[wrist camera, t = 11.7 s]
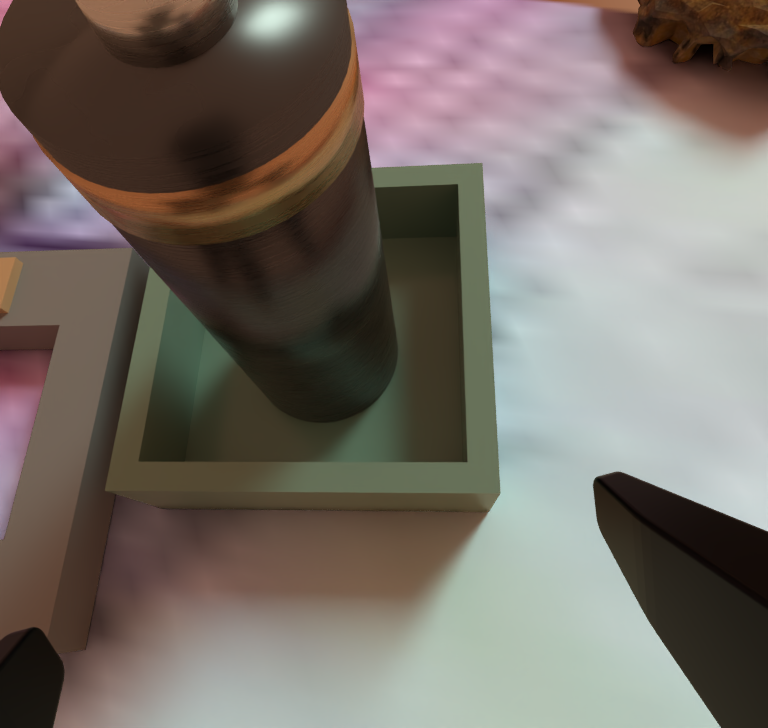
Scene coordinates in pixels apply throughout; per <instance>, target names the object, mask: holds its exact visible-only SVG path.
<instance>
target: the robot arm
mask: <svg viewBox="0 0 768 728" xmlns="http://www.w3.org/2000/svg"><path fill="white" fill-rule="evenodd" d="M593 490H594V499H595V508H596V517H597V522H598V526H599V529H600V531H601V533H602V535H603V537H604V539H605V541H606V543H607V545H608V547H609V549H610V550H611V552H612V554H613V556H614V558H615V560H616V562H617V564H618V565H619V567H620V569H621V571H622V573H623V575H624V577H625V579H626V580H627V582H628V584H629V586H630V588H631V590H632V592H633V594H634V595H635V597H636V599H637V601H638V603H639V605H640V607H641V608H642V610H643V612H644V614H645V615H646V617H647V619H648V621H649V622H650V624H651V625H652V627H653V628H654V630H655V631H656V633H657V634H658V636H659V637H660V639H661V640H662V642H663V643H664V645H665V646H666V648H667V649H668V651H669V652H670V654H671V655H672V656H673V658H674V659H675V661H676V662H677V664H678V665H679V667H680V668H681V670H682V671H683V673H684V674H685V676H686V677H687V679H688V680H689V681H690V683H691V684H692V686H693V687H694V689H695V690H696V692H697V693H698V695H699V696H700V698H701V699H702V701H703V702H704V703H705V705H706V706H707V708H708V709H709V711H710V712H711V714H712V715H713V717H714V718H715V720H716V721H717V723H718V724H719V725H720V727H721V728H768V531H765V530H763V529H760V528H758V527H755V526H753V525H751V524H748V523H746V522H743V521H741V520H738V519H736V518H733V517H731V516H728V515H726V514H723V513H721V512H719V511H716V510H714V509H711V508H709V507H706V506H704V505H701V504H699V503H696V502H694V501H692V500H689V499H687V498H684V497H682V496H679V495H677V494H674V493H672V492H669V491H667V490H665V489H662V488H660V487H657V486H655V485H652V484H650V483H647V482H645V481H642V480H640V479H638V478H635V477H633V476H630V475H628V474H625V473H622V472H613V473H609V474H605V475H602V476H598V477H596V478H595V480H594V483H593ZM63 681H64V666H63V662H62V660H61V659H60V657H59V655H58V654H57V652H56V651H55V649H54V648H53V646H52V644H51V643H50V641H49V640H48V638H47V637H46V635H45V633H44V632H43V631H42V630H41V629H39V628H38V627H30V628H26V629H23V630H19V631H15V632H12V633H10V634H8V635H6V636H5V637H3V638H2V639H1V640H0V728H53V726H54V721H55V717H56V712H57V708H58V703H59V699H60V694H61V690H62V685H63Z"/></svg>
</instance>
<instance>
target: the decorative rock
mask: <svg viewBox="0 0 768 728" xmlns="http://www.w3.org/2000/svg"><path fill="white" fill-rule="evenodd" d="M638 2H639V4H640V7H639V10H638V20H637V23H636V26H635V28H634V31H633V34H634V36H635V39H636V41H637V42H638V43H639V44H640V45H641V46H645V47H649V46H653V45H655V44H658V43H660V42H662V41H665V40H667V39H670V40H672V41H674V42H675V43H677V44H678V45H679V47H678V48H677V50H676V51H675V53H674V54H673V61H672V62H673V63H680V62H685V61H688V60H690V59H691V57H692V56H693V55H694V54H695V52H696V51H697V49H698V48H699V47H700V45H701V44H714V45H713V64H716V63H718V66H719V67H720V66H721V67H722V68H723V69H725V70H729V71H731V67H732V62H733V61H735V60H738V59H739V60H741V61H745V62H749V63H753V64H763V63H765V62H767V61H768V0H638Z"/></svg>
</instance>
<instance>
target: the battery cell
mask: <svg viewBox="0 0 768 728" xmlns="http://www.w3.org/2000/svg"><path fill="white" fill-rule="evenodd" d="M0 91H1V94H2V96H3V98H4V100H5V102H6V103H7V105H8V106H9V108H10V110H11V111H12V112H13V114H14V115H15V116H16V117H17V118H18V119H19V120H20V121H21V123H22V124H23V125H24V126H25V127H26V128H27V129H28V130H29V131H30V133H31V134H32V135H33V137H34V139H35V140H36V142H37V144H38V145H39V147H40V148H41V150H42V151H43V152H44V154H45V155H46V156H47V157H48V158H49V159H50V160H51V161H52V162H53V164H54V165H55V166H56V167H57V168H58V169H59V170H60V171H61V172H62V173H63V175H64V176H65V177H66V178H67V179H68V180H69V181H70V182H71V183H72V185H73V186H74V187H75V188H76V189H77V190H78V191H79V192H80V193H81V195H82V196H83V197H84V198H85V199H86V200H87V201H88V202H89V203H90V204H91V205H92V207H93V208H94V209H95V210H96V211H97V212H98V213H99V214H100V215H101V216H102V217H104V218H105V219H106V220H108V221H109V222H110V223H112V224H113V226H114V227H115V228H116V229H117V230H118V231H119V232H120V233H121V235H122V236H123V237H124V238H125V239H126V240H127V241H128V242H129V244H130V245H131V246H132V247H133V248H134V249H135V250H136V251H137V252H138V254H139V255H140V256H141V257H142V258H143V259H144V260H145V261H146V263H147V264H148V265H149V266H150V267H151V268H152V269H153V270H154V272H155V273H156V274H157V275H158V276H159V277H160V278H161V279H162V280H163V282H164V283H165V284H166V285H167V286H168V287H169V288H170V289H171V291H172V292H173V293H174V294H175V295H176V296H177V297H178V298H179V300H180V301H181V302H182V303H183V304H184V305H185V306H186V307H187V308H188V310H189V311H190V312H191V313H192V314H193V315H194V316H195V317H196V319H197V320H198V321H199V322H200V323H201V324H202V325H203V326H204V328H205V329H206V330H207V331H208V332H209V333H210V334H211V335H212V336H213V338H214V339H215V340H216V341H217V342H218V343H219V344H220V345H221V347H222V348H223V349H224V350H225V351H226V352H227V353H228V354H229V356H230V357H231V358H232V359H233V360H234V361H235V362H236V363H237V364H238V366H239V367H240V368H241V369H242V370H243V371H244V372H245V373H246V375H247V376H248V377H249V378H250V379H251V380H252V381H253V382H254V384H255V385H256V386H257V387H258V388H259V389H260V390H261V391H262V392H263V394H264V395H265V396H266V397H267V398H268V399H269V400H270V401H271V402H272V403H273V405H275V406H276V407H277V408H278V409H280V410H281V411H282V412H284V413H286V414H287V415H289V416H292V417H294V418H296V419H299V420H303V421H307V422H315V423H328V422H336V421H340V420H344V419H347V418H349V417H352V416H354V415H356V414H358V413H360V412H362V411H364V410H365V409H366V408H368V407H369V406H371V405H372V404H373V403H374V402H375V401H376V400H377V399H378V398H379V397H380V396H381V395H382V394H383V392H384V391H385V390H386V388H387V387H388V385H389V383H390V382H391V379H392V377H393V375H394V372H395V369H396V366H397V360H398V342H397V335H396V328H395V321H394V315H393V308H392V301H391V295H390V288H389V281H388V275H387V268H386V261H385V255H384V248H383V242H382V235H381V228H380V222H379V215H378V208H377V202H376V195H375V188H374V182H373V175H372V168H371V162H370V155H369V149H368V142H367V135H366V129H365V122H364V97H363V89H362V82H361V75H360V68H359V61H358V54H357V47H356V41H355V34H354V27H353V22H352V19H351V16H350V13H349V10H348V8H347V2H346V0H13V1H12V3H11V5H10V7H9V9H8V11H7V12H6V14H5V16H4V18H3V21H2V24H1V27H0Z"/></svg>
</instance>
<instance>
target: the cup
mask: <svg viewBox="0 0 768 728" xmlns="http://www.w3.org/2000/svg"><path fill="white" fill-rule="evenodd" d="M372 175H373V182H374V188H375V195H376V202H377V208H378V215H379V222H380V228H381V235H382V242H383V248H384V255H385V261H386V268H387V275H388V281H389V288H390V295H391V301H392V308H393V315H394V321H395V328H396V335H397V342H398V360H397V366H396V369H395V372H394V375H393V377H392V379H391V382H390V383H389V385H388V387H387V388H386V390H385V391H384V392H383V394H382V395H381V396H380V397H379V398H378V399H377V400H376V401H375V402H374V403H373V404H372V405H371V406H369V407H368V408H366V409H365V410H364V411H362V412H360V413H358V414H356V415H354V416H352V417H349V418H347V419H344V420H340V421H336V422H328V423H315V422H307V421H303V420H299V419H296V418H294V417H292V416H289V415H287V414H286V413H284V412H282V411H281V410H280V409H278V408H277V407H276V406H275V405H273V403H272V402H271V401H270V400H269V399H268V398H267V397H266V396H265V395H264V394H263V392H262V391H261V390H260V389H259V388H258V387H257V386H256V385H255V384H254V382H253V381H252V380H251V379H250V378H249V377H248V376H247V375H246V373H245V372H244V371H243V370H242V369H241V368H240V367H239V366H238V364H237V363H236V362H235V361H234V360H233V359H232V358H231V357H230V356H229V354H228V353H227V352H226V351H225V350H224V349H223V348H222V347H221V345H220V344H219V343H218V342H217V341H216V340H215V339H214V338H213V336H212V335H211V334H210V333H209V332H208V331H207V330H206V329H205V328H204V326H203V325H202V324H201V323H200V322H199V321H198V320H197V319H196V317H195V316H194V315H193V314H192V313H191V312H190V311H189V310H188V308H187V307H186V306H185V305H184V304H183V303H182V302H181V301H180V300H179V298H178V297H177V296H176V295H175V294H174V293H173V292H172V291H171V289H170V288H169V287H168V286H167V285H166V284H165V283H164V282H163V280H162V279H161V278H160V277H159V276H158V275H157V274H156V273H155V272H154V270H153V269H152V268H151V267H150V269H149V274H148V279H147V284H146V289H145V294H144V299H143V304H142V309H141V314H140V319H139V324H138V329H137V333H136V338H135V343H134V348H133V353H132V358H131V363H130V368H129V373H128V378H127V383H126V388H125V393H124V398H123V403H122V408H121V413H120V418H119V422H118V427H117V432H116V437H115V442H114V447H113V452H112V457H111V462H110V467H109V472H108V477H107V482H106V487H105V491H107V492H110V493H114V494H117V495H120V496H123V497H126V498H130V499H133V500H136V501H139V502H142V503H146V504H149V505H152V506H155V507H158V508H162V509H242V510H344V511H445V512H489V511H490V509H491V508H492V506H493V505H494V503H495V501H496V500H497V498H498V496H499V495H500V479H499V460H498V442H497V424H496V405H495V387H494V369H493V350H492V332H491V314H490V295H489V277H488V259H487V240H486V222H485V204H484V185H483V167H482V163H474V164H451V165H428V166H405V167H382V168H372Z"/></svg>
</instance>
